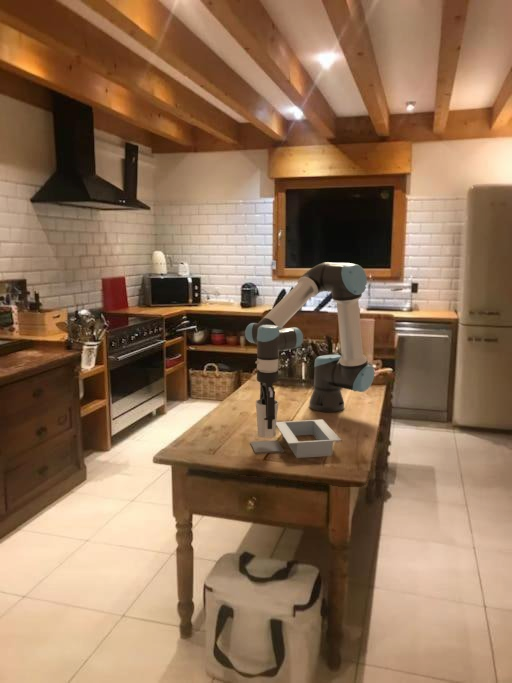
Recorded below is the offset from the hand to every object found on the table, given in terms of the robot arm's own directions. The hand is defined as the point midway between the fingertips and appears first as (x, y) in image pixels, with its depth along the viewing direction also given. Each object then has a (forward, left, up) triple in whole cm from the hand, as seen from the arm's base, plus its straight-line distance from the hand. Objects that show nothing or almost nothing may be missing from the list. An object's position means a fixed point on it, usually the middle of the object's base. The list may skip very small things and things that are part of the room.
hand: (266, 432), depth 197 cm
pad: (0, 0, -6) cm, 6 cm away
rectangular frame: (-15, 0, -6) cm, 16 cm away
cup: (0, 0, -1) cm, 1 cm away
